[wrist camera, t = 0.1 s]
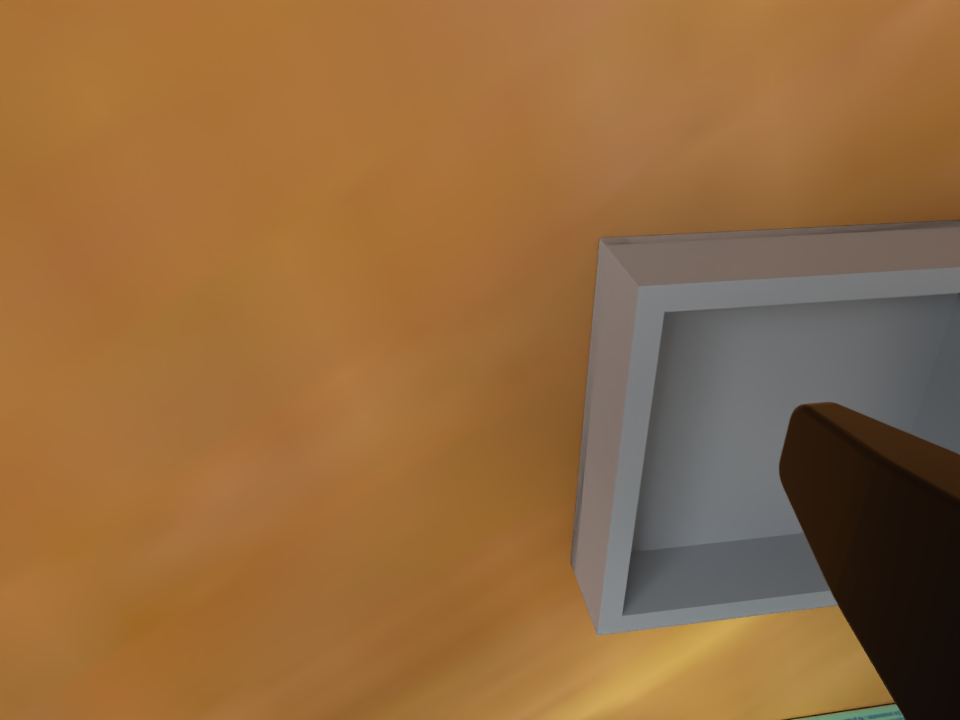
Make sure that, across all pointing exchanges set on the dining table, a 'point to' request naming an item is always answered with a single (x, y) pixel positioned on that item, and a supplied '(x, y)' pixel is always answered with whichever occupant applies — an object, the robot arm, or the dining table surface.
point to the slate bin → (744, 403)
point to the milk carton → (863, 714)
